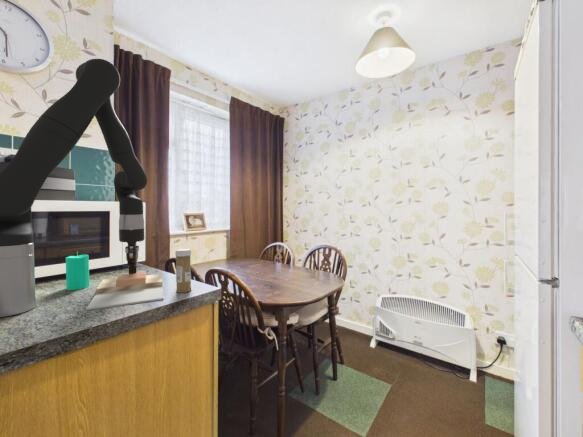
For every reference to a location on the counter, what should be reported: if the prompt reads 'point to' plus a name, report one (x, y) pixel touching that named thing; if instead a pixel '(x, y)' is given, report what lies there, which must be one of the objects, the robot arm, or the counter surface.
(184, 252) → the sprinkles bottle
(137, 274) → the tile
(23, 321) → the counter surface
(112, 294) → the mat
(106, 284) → the deck
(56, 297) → the counter surface
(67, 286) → the candle
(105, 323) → the counter surface
